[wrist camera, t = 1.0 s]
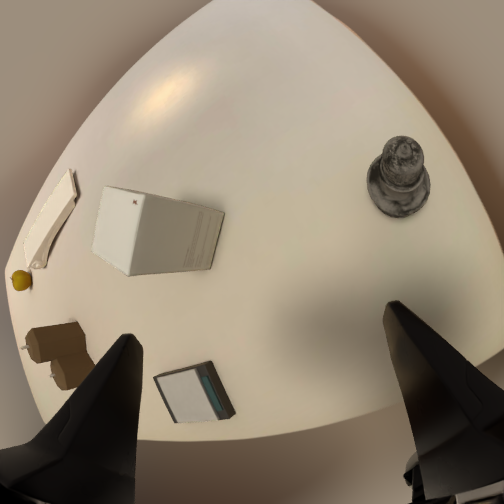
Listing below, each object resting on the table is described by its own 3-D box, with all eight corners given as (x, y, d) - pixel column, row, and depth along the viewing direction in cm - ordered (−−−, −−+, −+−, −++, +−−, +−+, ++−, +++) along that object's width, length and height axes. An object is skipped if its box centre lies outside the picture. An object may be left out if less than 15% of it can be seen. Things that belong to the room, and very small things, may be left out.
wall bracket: (92, 177, 56) (44, 246, 63) (69, 164, 50) (24, 238, 57) (92, 204, 51) (43, 274, 58) (66, 191, 45) (21, 267, 52)
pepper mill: (431, 214, 22) (464, 184, 12) (376, 226, 25) (372, 204, 14) (414, 157, 23) (428, 96, 12) (362, 169, 25) (344, 114, 15)
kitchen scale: (211, 360, 33) (201, 365, 31) (235, 413, 32) (227, 420, 30) (159, 374, 38) (150, 378, 36) (180, 419, 36) (172, 424, 34)
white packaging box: (181, 200, 36) (103, 182, 24) (226, 212, 32) (146, 193, 21) (168, 253, 37) (88, 252, 25) (210, 272, 33) (127, 278, 22)
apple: (28, 267, 67) (8, 267, 60) (33, 274, 64) (12, 274, 57) (28, 286, 68) (8, 286, 61) (33, 293, 65) (12, 294, 58)
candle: (64, 313, 53) (10, 319, 39) (92, 331, 47) (27, 342, 33) (69, 364, 53) (20, 375, 40) (98, 388, 47) (41, 406, 34)
